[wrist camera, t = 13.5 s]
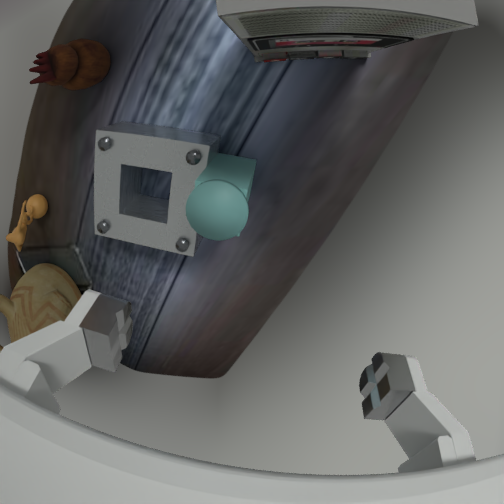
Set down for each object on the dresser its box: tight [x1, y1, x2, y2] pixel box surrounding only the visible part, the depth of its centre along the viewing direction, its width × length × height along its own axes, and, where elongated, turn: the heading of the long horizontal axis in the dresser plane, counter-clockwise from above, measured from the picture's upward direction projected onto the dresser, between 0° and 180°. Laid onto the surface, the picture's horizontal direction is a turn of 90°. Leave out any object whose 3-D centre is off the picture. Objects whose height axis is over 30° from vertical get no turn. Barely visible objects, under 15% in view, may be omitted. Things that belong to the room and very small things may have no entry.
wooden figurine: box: [29, 39, 111, 90], centre depth 28 cm, size 7×6×15 cm
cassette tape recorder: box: [216, 0, 478, 62], centre depth 21 cm, size 14×6×25 cm, turn 97°
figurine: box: [6, 194, 48, 251], centre depth 40 cm, size 8×6×12 cm
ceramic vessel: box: [0, 263, 82, 352], centre depth 44 cm, size 17×20×25 cm
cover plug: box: [186, 153, 257, 240], centre depth 36 cm, size 6×6×13 cm
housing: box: [94, 121, 221, 257], centre depth 39 cm, size 14×14×8 cm
